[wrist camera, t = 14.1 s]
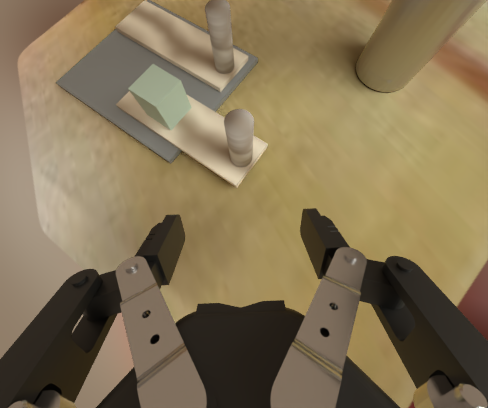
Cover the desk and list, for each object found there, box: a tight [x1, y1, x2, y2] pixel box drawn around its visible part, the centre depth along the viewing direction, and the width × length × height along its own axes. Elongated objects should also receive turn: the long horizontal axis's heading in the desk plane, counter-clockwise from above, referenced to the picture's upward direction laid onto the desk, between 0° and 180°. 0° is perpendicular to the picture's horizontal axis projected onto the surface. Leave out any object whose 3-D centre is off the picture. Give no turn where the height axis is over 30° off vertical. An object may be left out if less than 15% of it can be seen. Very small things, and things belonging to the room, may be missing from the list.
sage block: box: [128, 64, 192, 130], centre depth 28 cm, size 5×5×5 cm
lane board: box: [56, 0, 258, 163], centre depth 34 cm, size 24×26×1 cm
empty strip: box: [115, 0, 248, 92], centre depth 30 cm, size 8×24×9 cm, turn 55°
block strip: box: [116, 91, 268, 188], centre depth 26 cm, size 8×24×9 cm, turn 55°
